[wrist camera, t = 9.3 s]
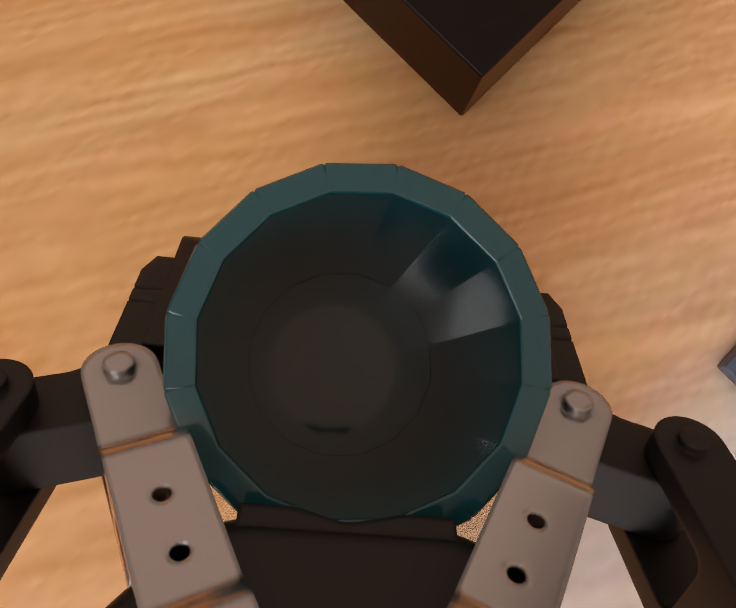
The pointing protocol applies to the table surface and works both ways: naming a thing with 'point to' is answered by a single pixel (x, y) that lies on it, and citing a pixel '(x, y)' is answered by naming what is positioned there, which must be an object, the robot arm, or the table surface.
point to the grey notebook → (729, 365)
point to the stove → (461, 38)
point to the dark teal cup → (358, 347)
